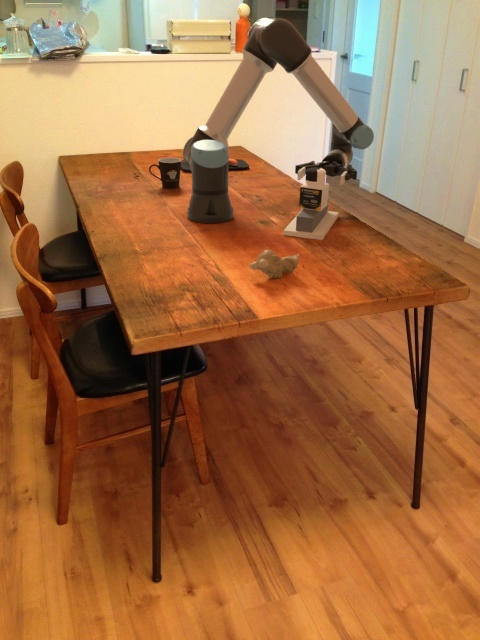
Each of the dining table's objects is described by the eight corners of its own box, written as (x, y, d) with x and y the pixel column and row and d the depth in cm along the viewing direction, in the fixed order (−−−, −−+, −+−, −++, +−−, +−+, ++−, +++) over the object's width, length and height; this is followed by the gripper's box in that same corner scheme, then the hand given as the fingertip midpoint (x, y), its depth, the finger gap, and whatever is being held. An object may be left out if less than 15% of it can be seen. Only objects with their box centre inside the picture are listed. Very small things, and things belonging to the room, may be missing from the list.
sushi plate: (183, 174, 245) (183, 165, 244) (172, 158, 271) (171, 149, 269) (251, 171, 252) (251, 162, 250) (233, 155, 278) (233, 147, 276)
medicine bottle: (298, 208, 185) (301, 169, 179) (306, 202, 190) (309, 164, 185) (320, 211, 182) (323, 172, 176) (327, 205, 188) (331, 167, 182)
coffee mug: (183, 183, 230) (183, 157, 226) (179, 190, 223) (178, 163, 218) (154, 182, 231) (153, 156, 227) (149, 188, 224) (147, 162, 219)
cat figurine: (304, 254, 150) (264, 248, 145) (300, 282, 151) (260, 277, 145) (286, 253, 158) (247, 246, 152) (282, 279, 158) (243, 274, 152)
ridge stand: (322, 240, 177) (323, 220, 174) (283, 234, 181) (284, 215, 178) (338, 216, 197) (339, 199, 194) (303, 212, 201) (304, 195, 198)
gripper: (369, 178, 201) (358, 194, 183) (298, 170, 208) (281, 185, 191) (372, 155, 197) (361, 169, 180) (299, 149, 205) (282, 162, 187)
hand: (319, 178), depth 185 cm, fingers open, 13 cm apart
